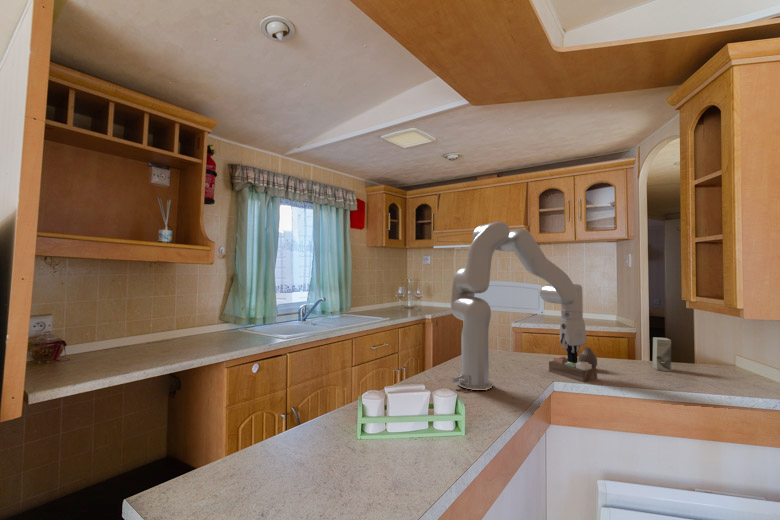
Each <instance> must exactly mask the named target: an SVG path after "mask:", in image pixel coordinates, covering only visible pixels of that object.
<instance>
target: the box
mask: <svg viewBox="0 0 780 520" xmlns="http://www.w3.org/2000/svg"><path fill="white" fill-rule="evenodd" d="M661 362H665V363H661ZM652 368H654V370H656V371H663V372H671V371H672V339H669V338H667V337H656V336H655V337H652Z"/></svg>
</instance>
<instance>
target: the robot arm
mask: <svg viewBox="0 0 780 520" xmlns="http://www.w3.org/2000/svg"><path fill="white" fill-rule="evenodd" d="M495 251H500V252H508V253H510V252H514V254H515V255H516V256H517V258H518V260H519V261H520V263H521V264H522V265H523V267H524V269H525V270H526V271H527V272H528V273H530V274H532V275H533V276H535V277H538V278H540V279H542V280H544V281H545V282H547V284H544V285H543V286H542V287H541V288H540V289H539V290H540V291H539V295H540V296H539V297H540V298H541V299H542V301H544V302H547V303H550V304H559V305H560V307H561V317H560V318H561V319H560V326H559V342H560V344H561V348H562V349H565V350H566V352H567V358H568V362H572V363H579V362H578V353H579V349H580V348H581V347H582V346H583V345H585V344H586V343H587V331H586V324H585V320H584V312H583V307H584V306H583V305H584V304H583V300H584V299H583V286H582V285H580V284H577V283H573V281H572V279H571V278H570V277H569V275H568V274H567V273H566V272H565V271H564V270H563V269H561V268H560V267H558V266H557V265H556V264H555V263H553V262H552V261H551V260H549V259H548V258H547V257H546V255H545V253H544V252H543V250H542V248H541V247H540V246H539V244H538V243H537V241H536V239H535V238H534V237H533V235H532V233H531V232H530V231H529V230H528V229H526V228H516V229H511V228H510V226H509V225H508V224H507V223H506V222H502V221H493V222H489V223H485V224H481V225H478V226H476V228H475V229H474V230H473V232H472V243H471V244H470V246H469V248H468V253H467V258H466V259H467V260H466V265H465V266H464V267H461V268H459V269H458V270H457V271H456V272H455V274H454V277H453V280H452V287H451V289H452V290H451V297H450V301H451V302H450V310H451V313H452V315H453V316H454V317H455V318H456V319H458V320H460V321H463V326H462V328H461V329H462V330H461V336H460V337H461V371H460V372H458V375H457V376H450V382H451V383H452V384H453V383H458V384H459V385H461V386H463V387H466V388H471V389H486V388H490V387H492V386H493V387H494V382H493V381H492V380H490V378H489V377H490V376H489V375H490V371H489V369H490V366H489V362H490V361H489V359H490V358H489V355H490V354H489V353H490V352H489V351H490V350H489V349H490V348H489V347H490V345H489V341H490V340H489V336H490V335H489V334H490V333H489V332H490V323H491V317H492V309H491V306H490V304H489V303H488V302H487V301H486V300H485V299H483V298H481V297H476V296H475V294H483V293H485V292H486V291H488V289H489V288H490V280H491V279H490V278H491V270H492V268H491V267H492V259H493V255H494V253H495ZM458 384H457V385H458Z"/></svg>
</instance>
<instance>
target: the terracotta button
mask: <svg viewBox="0 0 780 520" xmlns="http://www.w3.org/2000/svg"><path fill="white" fill-rule="evenodd" d="M553 361H554V362H557V363H561V364H565V363H566V362H567V361H568V357H566V356H564V355H556V356H554V357H553Z"/></svg>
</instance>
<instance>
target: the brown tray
mask: <svg viewBox="0 0 780 520" xmlns="http://www.w3.org/2000/svg"><path fill="white" fill-rule="evenodd" d="M548 372H550V373H553V374H556V375H559V376H562V377H566V378H567V379H568V378H569V379H571V380H574V381H577V382H581V383H586V382H591V381H595V380H594V379H596V380H598V368H597V367H596V368H593V367H592V369H590V370H582V369H578V368H576V367H571V366H568V365H565V364H561V363H557V362H554V360H550V361H548ZM590 380H591V381H590Z"/></svg>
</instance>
